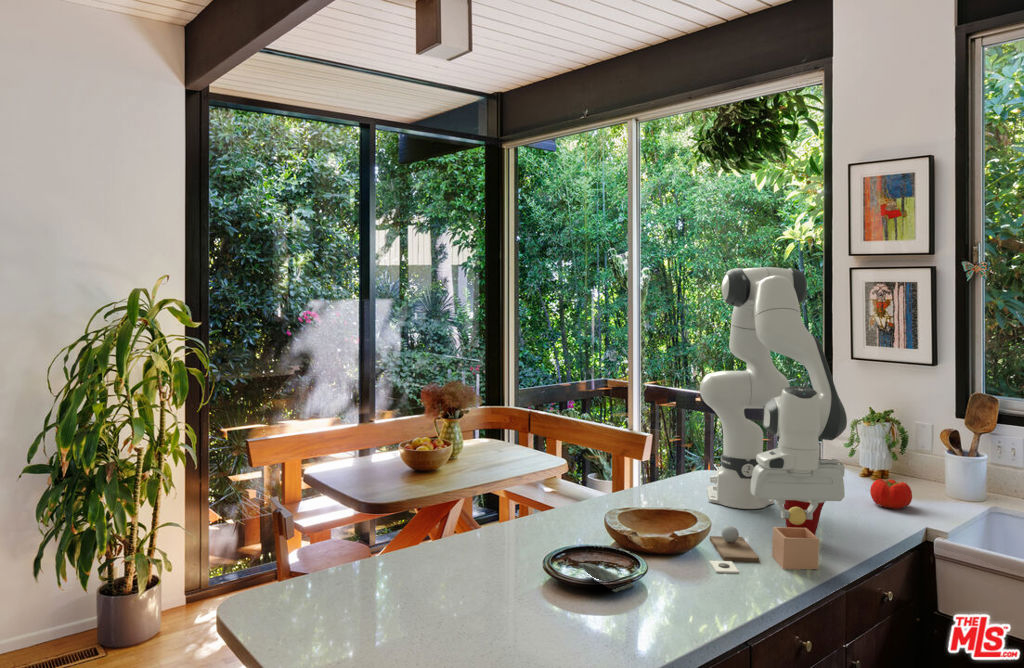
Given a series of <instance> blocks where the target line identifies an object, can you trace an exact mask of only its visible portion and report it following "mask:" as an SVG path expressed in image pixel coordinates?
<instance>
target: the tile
mask: <svg viewBox="0 0 1024 668" xmlns="http://www.w3.org/2000/svg"><path fill="white" fill-rule="evenodd" d="M709 564H710V566H711V567H712V568H713V570H714V572H715V573H717V574H739V573H740V571H739V569H738V568H737V567H736V566H735V564H734V561H723V560H709Z"/></svg>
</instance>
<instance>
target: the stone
mask: <svg viewBox="0 0 1024 668" xmlns="http://www.w3.org/2000/svg"><path fill="white" fill-rule="evenodd" d="M577 565H578V566H579V567H580V568H582V569H583V570H584V571H585V572H587V573H588V574H590V575H591V576H592V577H594V578H596V579H599V580H602V581H610V580H615V579H617V578H619V577H620V576H618V575H616V574H614V573H612V572H611V571H609V570H606V569H605V568H603V567H600V566H598V565H596V564H593V563H586V562H585V563H583V562H581V563H577ZM587 573H586V574H587ZM588 574H587V575H588ZM634 586H635V585H634V583H633V582H631V583H630V584H627V585H625V586H622V587H619V588H616V589H613V590H611V591H612V592H614V593H618V592H619V591H624V590H626V589H629V588H631V587H634Z"/></svg>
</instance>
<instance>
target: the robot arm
mask: <svg viewBox="0 0 1024 668" xmlns="http://www.w3.org/2000/svg"><path fill="white" fill-rule="evenodd" d="M720 289H721V294H722V298H723V300H724V302H725V303H726V304H727V305H729V306H732V307H733V309H732V313H731V322H730V332H729V341H728V342H729V345H728V347H729V350H730V352H731V354H732V355H733V356H735V358H737V359H739V360H741V361H743V362H744V363H746V369H745V370H720V371H719V370H718V371H714V372H710V373H709V372H708V373H707V374H705V376H704V377H703V378H702V379H701V381H700V385H699V394H700V397H701V399H702V401H703V402H704V403H705V404H706V405H707V406H708V407H709V408H711V409H712V411H714V413H715V414H716V415H717V417H718V419H719V421H720V423H721V427H722V438H723V439H722V440H723V446H722V449H723V452H722V453H721V457H720V467H719V468H718V469H717V470H716V472H715V474H714V475H710V477H709V481H710V482H709V483H710V484H713V485H709V486H708V485H707V489H706V490H707V491H706V492H707V498H708V502H709V503H712V504H719V505H722V506H726V507H730V508H734V509H741V510H742V509H745V510H757V509H764V508H765V507H767V506H769V505H774V503H776V505H777V506H778V508H779V511H780V514H779V515H780V518H781V520H785V519H789V515H790V512H789V511H788V510H785V509H784V505H783V504H785V500H807V501H809V503H810V506H809V507H808V509H807V510H804V512H805V514H806V520H812V519H813V512H814V511H815V509H816V508H817V506H818V501H826V502H842V500H844V498H845V494H846V493H845V481H844V476H845V472H846V471H845V468H846V467H845V465H844V463H842V462H841V461H840V460H838V459H834V458H832V459H826V458H825V459H823V458H820V450H821V449H820V448H821V446H820V442H819V441H820V440H823V441H824V440H825V441H833V440H835V439H837V438H838V437H840V436H841V435H842V433H844V432H845V430H846V429H847V424H848V417H847V413H846V409H845V407H844V404H843V402H842V400H841V399H840V397H839V394H838V391H837V389H836V388H837V387H836V386H835V383H834V379H833V377H832V373H831V371H830V367H829V365H828V364H829V363H828V361H827V358H826V355H825V353H824V350H823V347H822V345H821V342H820V340H819V339H818V338H817V337H816V336H815V335H813V334H811V332H810V331H809V330H808V329H807V328H806V326H805V324H804V322H803V319H802V315H801V308H800V307H801V306H800V304H802V303H803V302H804V301H805V299H806V296H807V292H808V282H807V278H806V276H805V274H804V272H802V270H799V269H795V268H791V267H789V268H783V267H775V266H773V267H772V266H764V267H746V268H742V267H736V268H735V267H734V268H731V269H729V270H728V271H726V273H725V274H724V276H723V279H722V282H721V288H720ZM771 352H773V353H776V354H778V355H782V356H785V357H788V358H790V359H792V360H794V361H796V362H798V363H799V364H801V365H802V366H803V367H805V369H806V371H807V373H808V377H809V379H810V383H811V386H812V387H811V388H810V387H808V386H802V385H791V386H790V381H789V380H788V379H787V377H786V376H785V375H784V373H782V372H780V370H778V369H777V367H776V366H775V364H774V362H773V359H772V356H771ZM746 409H763V410H762V411H763V412H762V427H763V428H764V429H765V430H766V431H767V432H768V433H770V435H772V436H776V437H779V439H778V443H777V447H776V448H772V449H770V450H766V451H763V450H764V432H763V430H762V428H761V426H760V425H758V424H757V423H755V422H754V421H753V420H750V419H749V418H746V415H745V410H746Z"/></svg>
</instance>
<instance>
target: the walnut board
mask: <svg viewBox="0 0 1024 668" xmlns="http://www.w3.org/2000/svg"><path fill="white" fill-rule="evenodd" d="M709 541H710V543H711V544H712V546H713V547H714V549H715V551H716V552H717V554H718V555H719V557H721V559H722V561H732V562H740V563H742V562H743V563H744V562H745V563H759V562H760V557H759V556H758V555H757V553H756V552H755V551H754V549H752V547H751V546H750V545H749V543H748V542H747V541H746V540H745V539H744V537H742V536H739V537H738V539H737V540H736V541H735V542H732V543H730V542H727V541H725V540H724V539H723V537H722V535H721V536H720V535H719V536H715V535H711V536H710V535H709Z"/></svg>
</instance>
